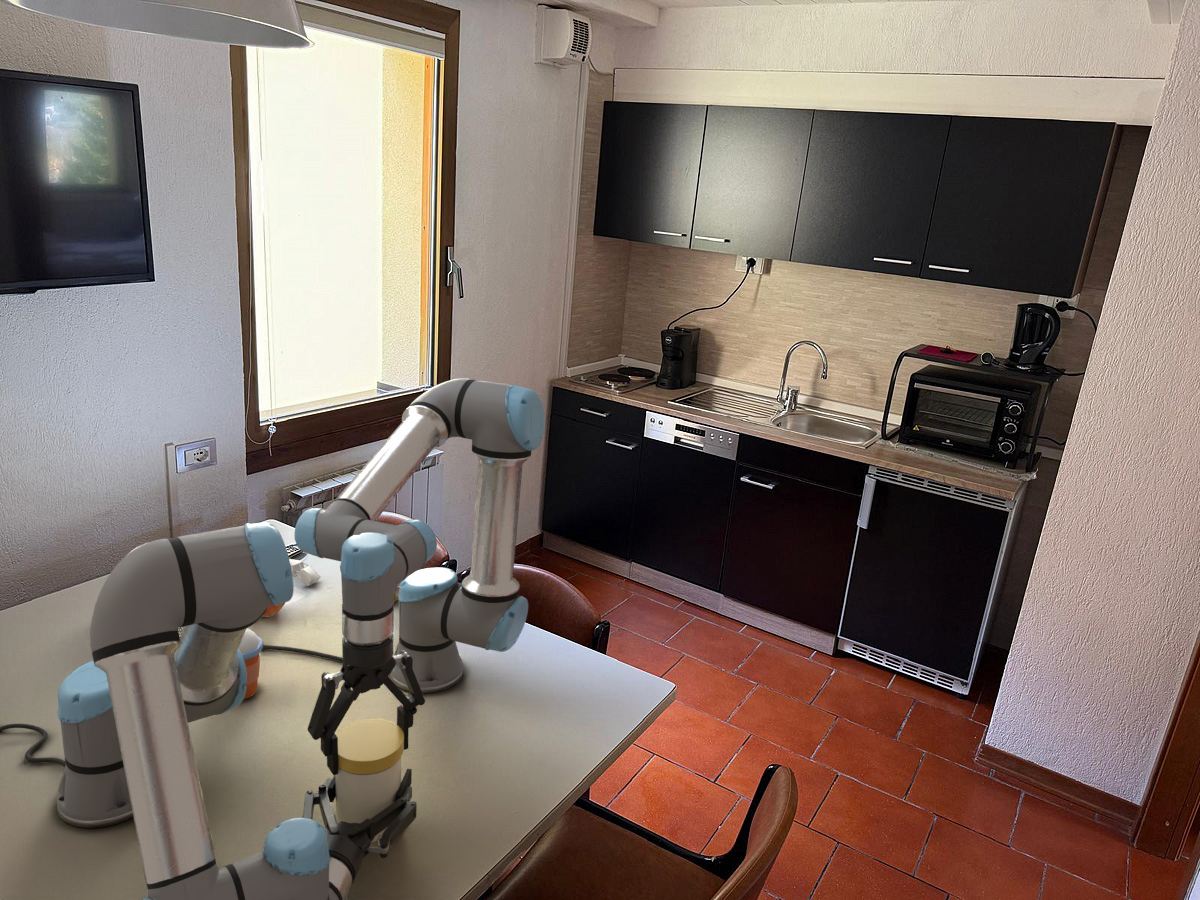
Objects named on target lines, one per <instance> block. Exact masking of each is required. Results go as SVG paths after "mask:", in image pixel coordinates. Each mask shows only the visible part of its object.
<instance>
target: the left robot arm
mask: <svg viewBox="0 0 1200 900" xmlns="http://www.w3.org/2000/svg"><path fill="white" fill-rule="evenodd" d="M148 542H149V543H148ZM148 542H146V544H145V543H143V544H141V545H139V546H140V547H138V546H137V547H138V548H136V547H135V548H136V549H135V548H134V549H135V550H133V549H132V550H133V551H132V550H131V551H132V552H131V551H130V552H128V553H127V554H126V556H124V557H123V558H122V559H121V560H120V561H119V562H118V563H117V564H116V565H115V567H114V568H113V569H112V570H111V572H110V573H109V574H108V576H107V578H106V580H105V581H104V583H103V585H102V587H101V589H100V591H99V594H98V596H97V599H96V601H95V605H94V608H93V612H92V616H91V621H90V629H89V630H90V632H89V639H90V643H89V644H90V649H91V650H90V651H91V656H92V660H91V661H87V662H86V663H84V664H82V665H79V667H77V668H76V669H74V670H73V671H71V672H70V673H69V675H68V676H67V677H65V678H64V679H63V681H62V682H61V684H60V685H59V687H58V691H57V712H56V713H57V717H58V720H59V721H60V728H61V729H60V730H61V737H62V739H61V740H62V747H63V756H64V759H62V758H58V757H32V756H31V755H32V753H33V752H34V751H36V750H37V748H39V747H41V745H43V744H44V743H45V742H46V740H47V739H48V737H49V734H48V732H47V731H46V730H45V729H44V728H42V727H39V726H38V725H33V724H29V723H10V724H5V725H1V726H0V733H1V732H3V731H5V730H9V729H25V730H32V731H35V732H36V733H39V734H41V735H42V737H41V738H40V739H39V740H38V741H37V742H36V743H35V744H33V745H32V746H31V747H29V748H28V750H27V751H26V752H25V754H24V758H25V761H27V762H29V763H54V764H58V765H60V766H63V773H62V776H61V780H60V783H59V786H58V790H57V793H56V809H57V814H58V816H59V818H60V819H61V820H62V821H63V822H65V823H66V824H69V825H71V826H74V827H79V828H85V829H87V828H88V829H89V828H90V829H94V828H95V829H96V828H102V827H108V826H112V825H116V824H120V823H123V822H125V821H127V820H130V819H133V822H134V826H135V832H136V837H137V838H136V839H137V842H138V849H139V852H140V853H139V854H140V857H141V863H142V868H143V873H144V878H145V883H146V888H147V896H145V897H144V898H143V899H142V900H347V898H348V895H349V893H350V890H351V888H352V885H353V884H354V883H355V879H356V877H357V875H358V872H359V870H360V868H361V866H362V863H363V861H364V859H365V858H366V857H367V856H368V855H369V854H370V853H374V854H376V853H377V854H379V858H381V859H386V858H387V857H388V856H389V854H390V851H391V847H392V846H393V845H395V843H396V842H397V840H398V839H399V838H400V837H401V836H402V834H404V833H405V831H406V830H407V829H408V828H409V827H410V825H411V824H412V823H413V822H414V821H415V819H416V818H417V814H418V813H417V810H418V809H417V808H418V807H417V806H418V805H417V801H415V800H412V797H413V786H411V785H412V775H413V769H412V768H406V770H405V772H404V775H403V777H402V779H401V784H400V787H399V789H398V791H397V794H396V801H395V802H394V803H392V804H391V805H390V806H388V807H387V808H385V809H384V810H382V811H381V812H380V813H378V814H377V815H375V816H374V817H372V818H371V819H366V820H364V821H363V822H361V823H347V822H343V821H340V822H339V823H337V821H336V814H334V810H333V807H332V804H331V803H333V802H334V801H335V800H336V799H335V775H333V777H327V779H326V780H325V781H324V784H320V785H319V786H318V791H314V790H312V789H310V790H307V791H306V792H305V795H304V796H305V797H304V804H303V812H302V817H293V818H289V819H286V820H283V821H281V822H279V823H278V824H277V825H276V826H275V827H274V828H273V829H271V830H270V831H268V834H267V835H266V837H265V840H264V846H263V848H262V849H263V850H261V851H260V852H257V853H254V854H252V855H249V856H247V857H244V858H242V859H240V860H237V861H235V862H231V863H229V864H227V865H225V866H222V867H218V863H217V859H216V852H215V848H214V843H213V837H212V833H211V828H210V823H209V818H208V814H207V813H208V812H207V808H206V804H205V799H204V798H205V797H204V794H203V790H202V784H201V779H200V775H199V770H198V765H197V760H196V755H195V751H194V746H193V741H192V736H191V731H190V726H189V723H191V722H192V723H193V722H196V721H199V720H202V719H206V718H209V717H212V716H218V715H223V714H225V713H227V712H228V711H231V710H234V709H235V708H237V707H238V706H240V705H241V704H242V703H243V700H245V699H244V697H245V693H246V684H245V683H247V672H246V666H245V662H244V659H243V656H242V654H241V652H240V650H239V646H240V643H241V641H242V638H243V636H244V634H245V631H246V629H249V628H251V627H252V626H253V625H256V623H257V622H258V621H260V620H261V619H262V617H264V616H263V615H264V613H265V611H266V609H267V607H269V606H272V605H275V606H280V605H281V604H283V603H285V604H286V603H288V602H290V601H291V600H292V598H293V596H294V590H295V589H294V586H295V585H294V577H293V575H292V570H291V565H290V560H289V559H290V557H289V553H288V550H287V547H286V544H285V541H284V538H283V536H282V534H281V533H280V531H279V529H278V528H277V526H275V525H274V524H273V523H271V522H269V521H268V522H267V521H263V522H255V523H249V522H246V523H244V525H240V526H233V527H232V526H231V527H227V528H222V529H221V528H220V529H215V530H209V531H203V532H197V533H192V534H187V535H180V536H174V537H169V538H159V539H154V540H152V541H148ZM179 628H182V629H181V633H179ZM316 805H318V807H319V810H320V814H321V817H322V821H323V825H324V826H323V825H322V824H321V823H320V822H319V821H317V820H315V819H314V809H315V806H316ZM386 828H387V829H386ZM384 829H386V830H385V831H384V832H383V834H382V835H379V836H378V839H377V840H376V841H375V842H371V841H373V839H374V837H375V836H376V835H377V834H379V833H380V832H381V831H383V830H384Z"/></svg>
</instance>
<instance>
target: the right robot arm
mask: <svg viewBox="0 0 1200 900" xmlns="http://www.w3.org/2000/svg"><path fill="white" fill-rule="evenodd" d="M544 407H545V406H544V404H543V401H542V399H541V397H540V395H539V394H538V393H537V392H536V391H535V390H533V389H531V388H527V387H523V386H519V385H517V384H509V383H502V382H494V381H486V380H480V379H474V378H468V377H460V378H455V379H450V380H447V381H444V382H441V383H439V384H437V385H435V386H433V387H431V388H430V389H428V390H426V391H424V392H423V393H422V394H420V395H419V396H417V397H416V398H415V399H414V400H413V401H412V402H411V403H410V404H409V405H408V407H407V408H406V409H405V410H404V411H403V413H402V416H401V423H400V424H399V425H398V426H397V427H396V429H395V430H394V431H393V432H392V433H391V434H390V436H388V438H387V439H386V440H385V441H384V442H383V444H382V445H381V446H380V447H379V448H378V450H377V451H376V452H375V453H374V454H373V455H372V457H370V459H369V460H368V461H367V462H366V463H365V465H364V466H363V467H362V468H361V469H360V470H359V472H358V473H356V475H355V476H354V477H353V478H352V480H351V481H350V482H349V483H348V484H347V485H346V486H345V487H344V489H343V490H342V491H341V492H340V493H339V495H338V496H337V497H336V498H335V499H334V500H333V501H332V502H331V503H330V504H329V506H328V507H327V508H326V509H323V508H321V507H319V508H315V507H314V508H309V509H307V510H305V511H304V512H302V513H301V514H300V516H299V518H297V521H296V524H295V527H294V541H295V545H296V547H297V548H298V549H299V550H300V551H301V552H303V553H306V554H309V555H311V556H314V557H317V558H319V559H327V560H328V559H329V560H332V561H337V562H340V565H339V571H340V576H341V577H340V578H341V602H342V604H341V632H342V639H341V645H342V646H341V649H342V651H341V652H342V654H341V655H342V657H341V656H338V655H333V654H329V653H325V652H324V653H323V652H320V651H315V650H310V649H303V648H299V647H290V646H283V645H282V646H281V645H271V644H263V648H262V650H267V651H269V650H270V651H281V652H290V653H297V654H304V655H307V656H314V657H318V658H322V659H326V660H327V659H328V660H332V661H336V662H340V663H342V666H341V668H340V669H339V671H337V672H333V673H330V672H329V671H325V672H322V674H321V679H320V680H321V688H320V691H319V693H318V696H317V699H316V702H315V705H314V708H313V710H312V714H311V716H310V720H309V723H308V725H307V728H306V729H307V733H309V735H310V736H311V738H312V739H313V740H314V741H318V740H320V751H321V752H322V754H323V755H324V757H325V758H326V766H327V768H328V770H329V771H330V772H331V774H332V775H333V776H334V775H336V774H338V737H337V736H336V735H335V734H336V732H337V731H338V728H339V726H340V724H341V723H342V721H343V719H344V718H345V716H346V714H347V713H348V711H349V709H350V707H351V706H352V704H353V702H355V701H357V700H358V698H359V696H360V694H361V695H362V694H365V693H368V692H369V691H371V690H378V689H380V688H381V687H382V686H383V685H384V686H385V687H386V688H387V690H389V692H390V693H391V694H392V695H393V696H394V698H395V699H397V701H398V702H399V703H400V704H401V705H399V706H396V724H397V725H398V726H399V727H400V728H401V729H402V731H403V733H404V751H406V750H409V737H410V736H409V730H410V728H412V727H413V726H414V716H415V714H417V712H418V708H417V707H418V706H423V705H424V704H425V703H426V699H425V696H424V694H430V693H431V694H432V693H438V692H441V691H445V690H447V689H450V688H451V687H453V686H455V685H456V684H457V683H458V682H459V681H460V680H461V679H462V676H463V672H464V664H463V660H462V657H461V656H460V653H459V649H458V646H457V643H461V644H465V645H469V646H473V647H477V648H479V649H484V650H485V651H495V652H500V653H503V652H507V651H509V650H510V649H511V648H513V647H514V645H515V644H516V643H517V641H518V640H519V637H520V635H521V633H522V631H523V629H524V627H525V624H526V621H527V617H528V612H529V601H528V599H527V598H526V597H524V596H523V595H520V587H521V585H520V582H519V581H518V580H517V579H516V578H515V577H514V570H515V558H516V545H517V534H518V524H519V523H518V521H519V512H520V511H519V510H520V500H521V488H522V487H521V486H522V475H523V466H524V465H523V464H524V463H525V462H527V461H528V460H529V459H530V458H531V457H532V452H533V451H535V450H537V449H538V448H539V447H540V446H541V444H542V441H543V435H544V434H545V429H546V427H545V426H546V415H545V408H544ZM450 438H462V439H467V440H471V453H472V454H473V455H474V457H475V458H476V459H477V460H478V463H477V464H478V465H477V476H476V477H477V478H476V490H475V491H476V492H475V503H474V519H473V531H472V546H471V560H470V572H469V574H468V575H467V576H466V577H464V579H462V581H461V582H458V580H459V579H458V575H457V573H456V572H455V571H454V570H453V569H450V568H448V567H427V568H423V567H424V566H425V565H426V564H427V563H428V562H429V561H430V560H431V559H432V558H433V557H434V555H435V553H436V552H437V547H438V541H437V536H436V534H435V532H434V530H433V528H432V527H431V526H430V525H429V524H427V522H425V521H423V520H420V519H414V518H413V519H408V520H406V521H402V522H401V523H399V524H398V525H397V524H391V523H386V522H382V521H377V520H378V518H380V517H381V515H382V514H383V512H384V511H385V510H386V509H387V508H388V506H389V505H390V504H391V503H392V501H393V500H394V499H395V497H396V496H397V495H398V494H399V493H400V491H401V490H402V488H403V487H404V486H405V485H406V483H408V481H409V480H410V478H412V476H413V475H414V473H416V471H417V470H418V468H419V467H420V466H421V465H422V463H423V462H424V461H425V460H426V458H428V456H429V455H430V454H431V452H432V451H433V450H434V448H439V447H442V446H443V445H444V444H445V443H446V442H447V441H448V439H450ZM399 583H401V584H400V586H399V587H400V592H399V598H398V600H397V601H398V643H397V645H396V648H395V651H394V629H395V627H394V619H395V618H394V617H395V616H394V614H395V613H394V610H395V609H394V603H393V601H394V587H395V586H397V585H398V584H399ZM342 681H344V682H343V683H342V685H341V686H340V691H339V693H338V695H337V697H336V699H335V696H336V690H338V689H339V685H340V683H341V682H342ZM402 690H404V691H407V692H409V693H410V696H409V697H407V696H406V694H404V692H403V691H402ZM334 699H335V701H334Z"/></svg>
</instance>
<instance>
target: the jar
mask: <svg viewBox="0 0 1200 900" xmlns="http://www.w3.org/2000/svg"><path fill="white" fill-rule="evenodd" d="M401 782H402V757H401V758H400V760H399V761H398V762H397V763H396V764H394V765H393V766H391V767H390V768H388V769H385V770H383V771H380V772H376V773H371V774H355V773H350V772H347V771H344V770H342V769H341V768H339V767H338V774H336V775H335V799H334V800H335V818H336V821H337V823H339V822H340V821H343V822H347V823H361V822H363V821H364V820H366V819H371V818H372V817H374V816H375V815H377V814H378V813H380V812H381V811H382V810H384V809H385V808H387V807H388V806H390V805H391V804H392V803H394V802H395V801H396V794H397V791H398V789H399V787H400V784H401ZM386 829H387V828H386ZM386 829H384V830H383V831H381V832H380V833H379V834H377V835H376V836H375V837H374V839H373V841H371V842H375V841H376V840H377V839H378V836H379V835H382V834H383V832H384V831H385V830H386Z"/></svg>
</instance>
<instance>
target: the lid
mask: <svg viewBox="0 0 1200 900" xmlns="http://www.w3.org/2000/svg"><path fill="white" fill-rule="evenodd" d="M335 735H336V736H337V737H338V767H339V768H341V769H342V770H344V771H347V772H350V773H355V774H371V773H376V772H380V771H383V770H385V769H388V768H390V767H391V766H393V765H394V764H396V763H397V762H398V761H399V760H400V758H401V759H402V757H403V755H404V751H405V750H404V733H403V731H402V729H401V728H400V727H399V726H398V725H397V723H395V722H393V721H391V720H388V719H384V718H375V717H373V718H371V717H370V718H369V717H368V718H362V719H358V720H354V721H352V722H349V723H347V724H345V725H343V726H342V727H341V728H340V729H337V730H336V731H335Z"/></svg>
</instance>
